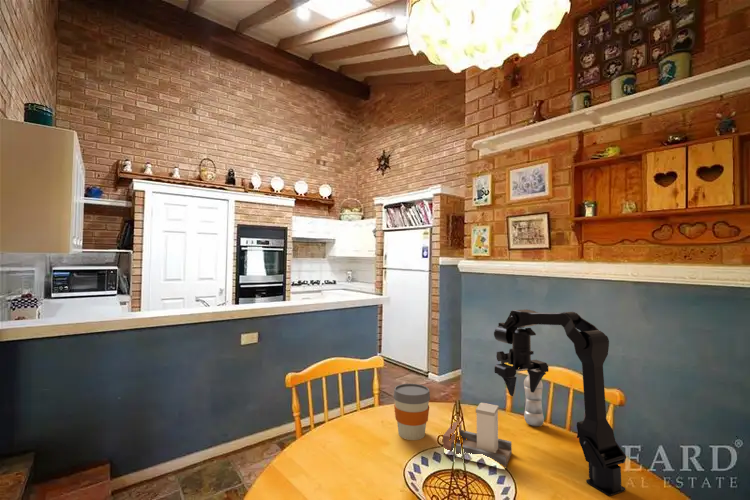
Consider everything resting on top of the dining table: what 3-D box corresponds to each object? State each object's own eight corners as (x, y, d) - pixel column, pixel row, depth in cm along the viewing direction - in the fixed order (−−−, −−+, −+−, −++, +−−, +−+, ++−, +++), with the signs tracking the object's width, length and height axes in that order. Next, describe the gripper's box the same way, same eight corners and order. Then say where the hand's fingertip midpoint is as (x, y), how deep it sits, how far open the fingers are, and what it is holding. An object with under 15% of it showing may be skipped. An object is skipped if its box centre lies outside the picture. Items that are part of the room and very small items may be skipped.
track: (511, 453, 110) (511, 434, 110) (505, 470, 100) (505, 450, 100) (454, 438, 119) (454, 421, 119) (443, 453, 109) (443, 435, 109)
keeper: (498, 447, 109) (498, 405, 110) (494, 457, 104) (494, 412, 105) (481, 443, 112) (480, 402, 113) (476, 452, 107) (475, 409, 107)
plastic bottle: (532, 429, 126) (532, 372, 127) (520, 421, 132) (519, 367, 133) (548, 427, 128) (547, 370, 129) (534, 419, 134) (534, 365, 135)
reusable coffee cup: (430, 444, 115) (430, 396, 116) (391, 441, 117) (391, 394, 118) (430, 427, 127) (430, 384, 128) (395, 424, 129) (395, 382, 130)
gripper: (524, 340, 132) (524, 383, 131) (483, 344, 125) (483, 389, 124) (549, 346, 121) (549, 393, 121) (506, 351, 114) (506, 401, 113)
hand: (521, 394), depth 120 cm, fingers open, 9 cm apart
